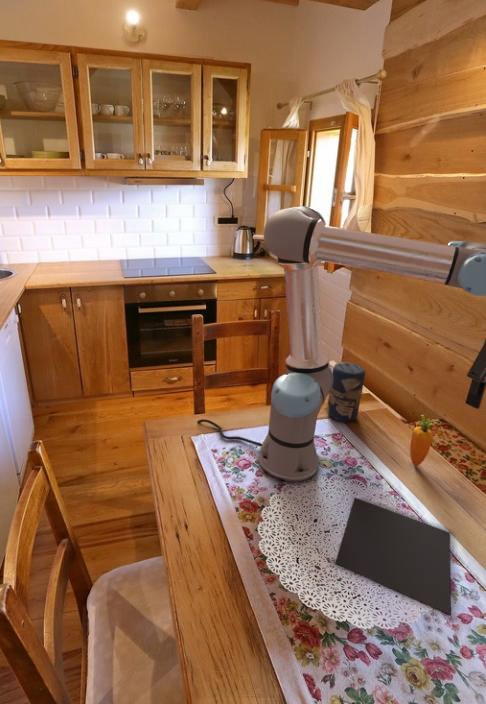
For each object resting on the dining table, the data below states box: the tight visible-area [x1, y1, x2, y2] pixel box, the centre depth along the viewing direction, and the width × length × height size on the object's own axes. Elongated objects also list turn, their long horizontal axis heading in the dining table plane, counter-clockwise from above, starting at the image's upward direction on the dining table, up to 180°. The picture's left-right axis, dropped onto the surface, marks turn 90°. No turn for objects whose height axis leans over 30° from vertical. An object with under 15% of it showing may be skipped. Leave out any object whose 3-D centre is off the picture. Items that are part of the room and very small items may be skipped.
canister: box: [326, 361, 366, 422], centre depth 127 cm, size 10×10×18 cm
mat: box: [334, 497, 451, 616], centre depth 83 cm, size 20×20×1 cm
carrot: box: [409, 414, 434, 467], centre depth 105 cm, size 5×5×15 cm
